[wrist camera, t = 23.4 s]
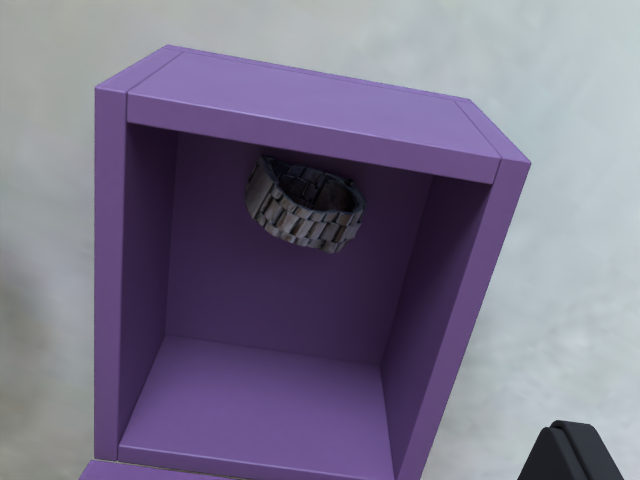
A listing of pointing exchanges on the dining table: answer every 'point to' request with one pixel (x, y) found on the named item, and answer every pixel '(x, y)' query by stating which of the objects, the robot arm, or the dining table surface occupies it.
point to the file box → (285, 269)
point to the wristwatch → (304, 204)
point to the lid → (137, 473)
